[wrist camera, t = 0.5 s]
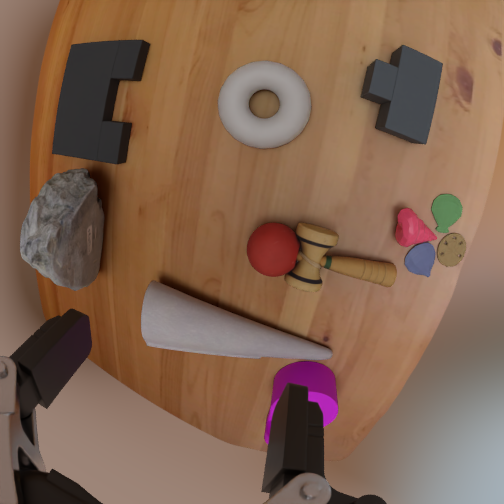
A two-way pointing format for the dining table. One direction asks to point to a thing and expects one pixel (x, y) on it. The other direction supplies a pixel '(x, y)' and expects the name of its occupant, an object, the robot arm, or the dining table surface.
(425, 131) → the grey pad
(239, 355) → the grey hollow cone
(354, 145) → the dining table surface
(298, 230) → the kendama
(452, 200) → the toy pieces
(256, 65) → the donut
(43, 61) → the dining table surface
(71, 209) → the decorative rock
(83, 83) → the black pad
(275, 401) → the tape dispenser
